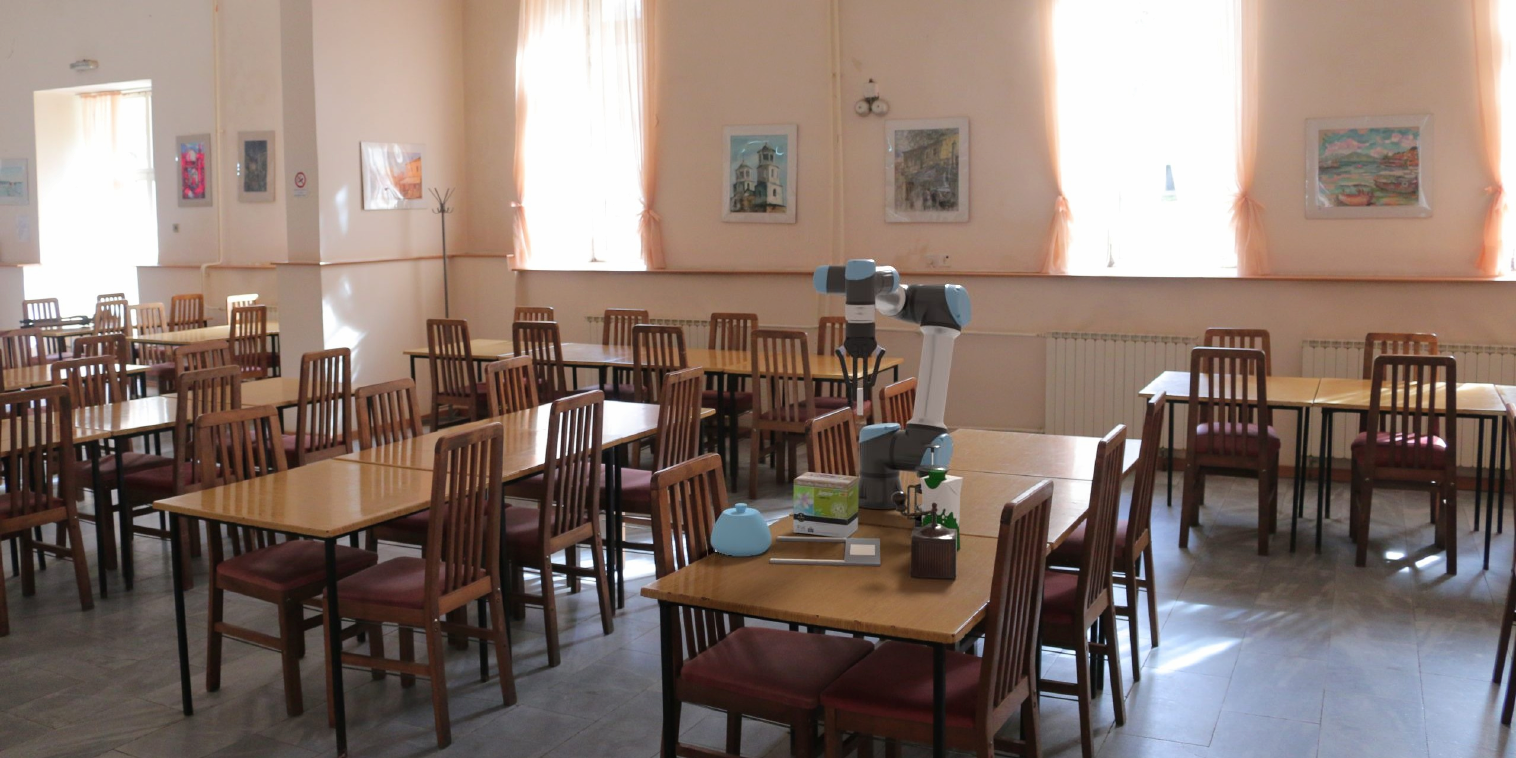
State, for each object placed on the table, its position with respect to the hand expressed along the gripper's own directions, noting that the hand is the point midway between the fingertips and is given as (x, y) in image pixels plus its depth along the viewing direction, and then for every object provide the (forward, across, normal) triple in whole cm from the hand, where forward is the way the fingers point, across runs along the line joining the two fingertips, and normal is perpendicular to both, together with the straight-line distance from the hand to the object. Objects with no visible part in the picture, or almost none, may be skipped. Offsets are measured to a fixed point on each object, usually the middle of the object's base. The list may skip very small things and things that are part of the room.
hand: (860, 414), depth 294 cm
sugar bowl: (+32, -29, -14) cm, 46 cm away
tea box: (+32, -9, +5) cm, 34 cm away
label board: (+32, -7, -14) cm, 36 cm away
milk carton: (+32, +20, -9) cm, 39 cm away
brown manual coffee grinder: (+32, +15, -29) cm, 46 cm away
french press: (+32, +18, +8) cm, 38 cm away
